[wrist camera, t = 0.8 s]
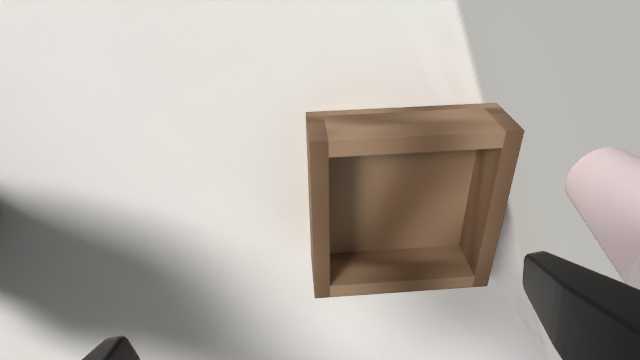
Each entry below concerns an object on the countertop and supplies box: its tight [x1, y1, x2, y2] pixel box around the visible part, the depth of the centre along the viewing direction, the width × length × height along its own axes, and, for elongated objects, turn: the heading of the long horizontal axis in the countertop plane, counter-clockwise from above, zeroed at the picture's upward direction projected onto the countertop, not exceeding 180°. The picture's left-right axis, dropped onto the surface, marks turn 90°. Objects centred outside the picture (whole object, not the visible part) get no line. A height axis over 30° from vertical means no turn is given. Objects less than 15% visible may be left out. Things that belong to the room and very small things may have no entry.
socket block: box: [306, 103, 524, 298], centre depth 23 cm, size 9×9×3 cm
